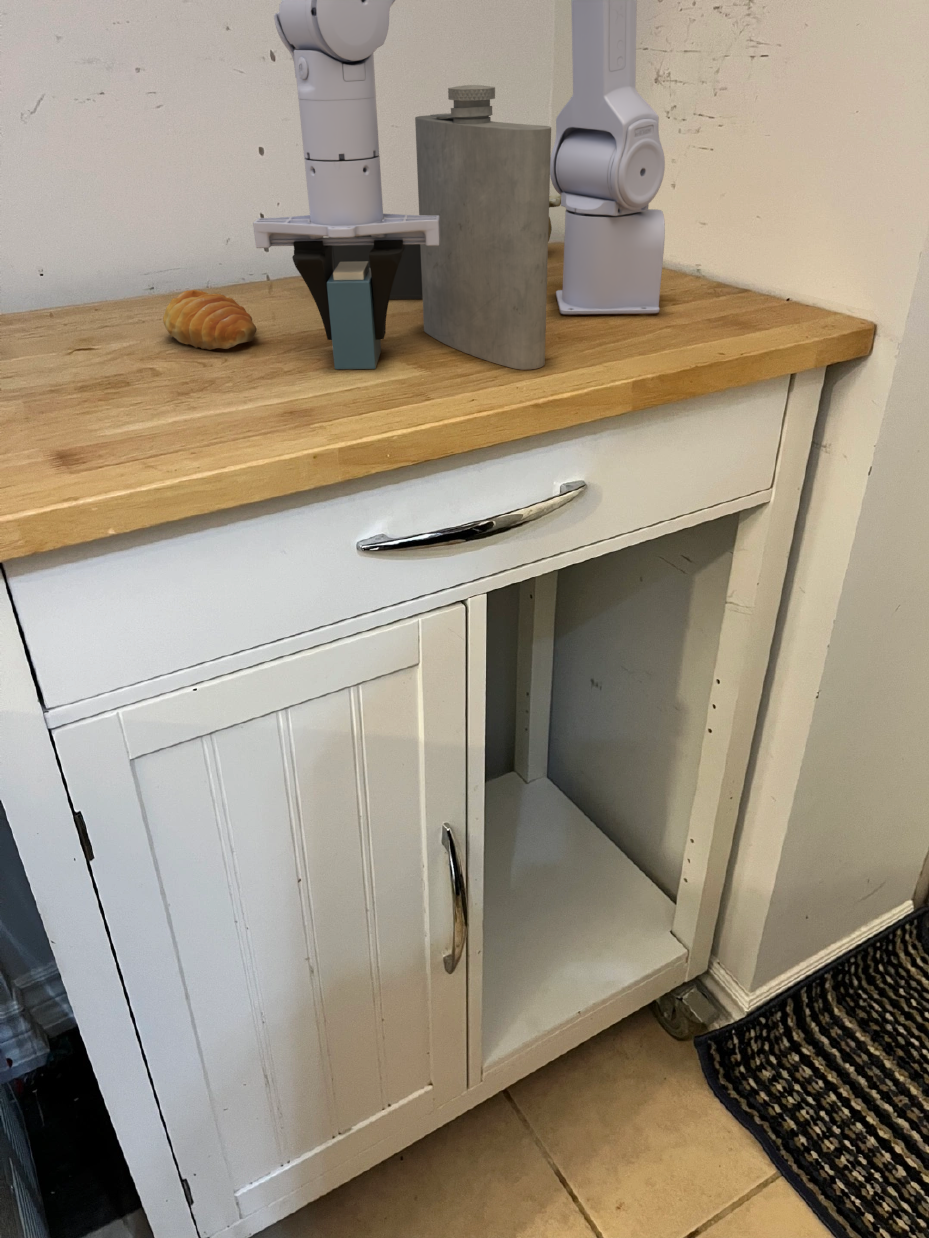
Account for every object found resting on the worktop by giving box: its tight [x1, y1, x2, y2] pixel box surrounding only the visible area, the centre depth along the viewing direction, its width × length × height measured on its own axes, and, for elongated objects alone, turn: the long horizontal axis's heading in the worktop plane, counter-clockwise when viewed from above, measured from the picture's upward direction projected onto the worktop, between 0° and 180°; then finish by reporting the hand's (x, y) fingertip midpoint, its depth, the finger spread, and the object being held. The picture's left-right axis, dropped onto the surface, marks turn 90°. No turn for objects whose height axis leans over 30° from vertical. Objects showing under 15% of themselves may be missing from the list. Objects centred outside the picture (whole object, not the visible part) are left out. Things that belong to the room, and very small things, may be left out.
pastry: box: [162, 289, 258, 351], centre depth 84 cm, size 9×7×4 cm
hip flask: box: [414, 84, 552, 371], centre depth 77 cm, size 16×4×20 cm, turn 35°
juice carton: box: [327, 261, 382, 370], centre depth 78 cm, size 3×5×8 cm
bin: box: [332, 235, 423, 301], centre depth 100 cm, size 14×11×5 cm
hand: (356, 336), depth 79 cm, fingers closed on juice carton, 3 cm apart
